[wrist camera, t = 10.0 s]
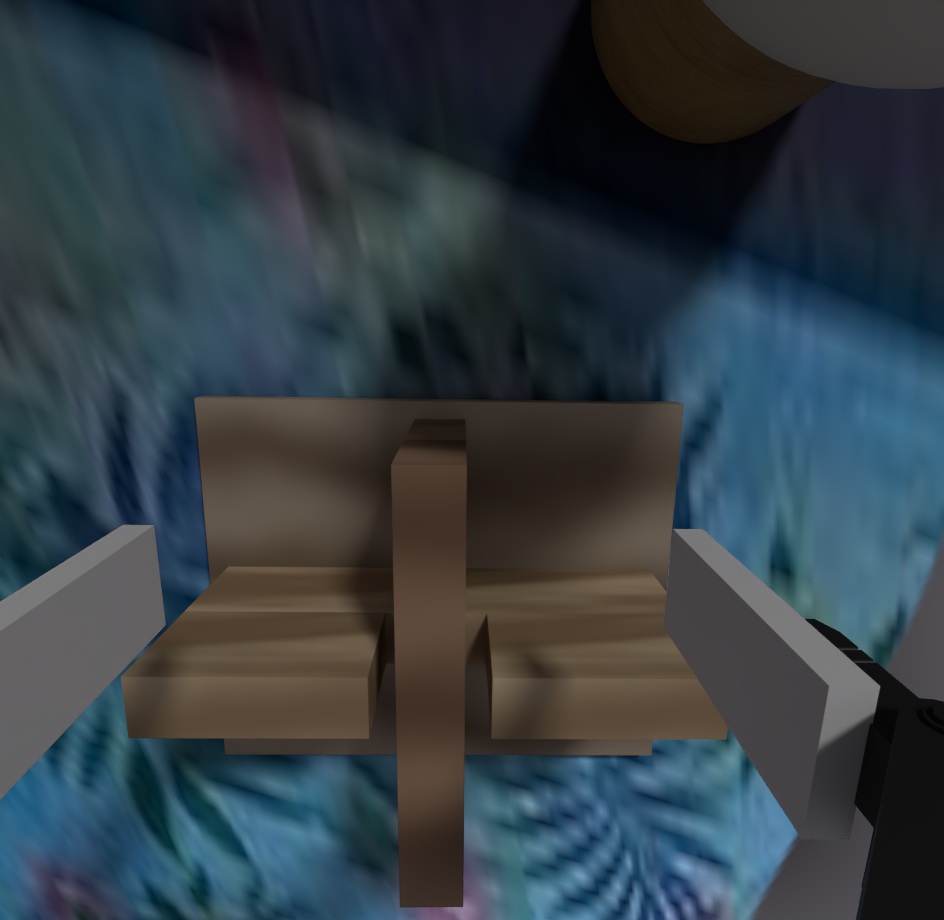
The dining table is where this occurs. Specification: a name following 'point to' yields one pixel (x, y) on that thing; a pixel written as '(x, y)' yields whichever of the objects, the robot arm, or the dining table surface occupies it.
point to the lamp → (757, 57)
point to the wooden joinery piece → (372, 590)
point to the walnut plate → (430, 658)
